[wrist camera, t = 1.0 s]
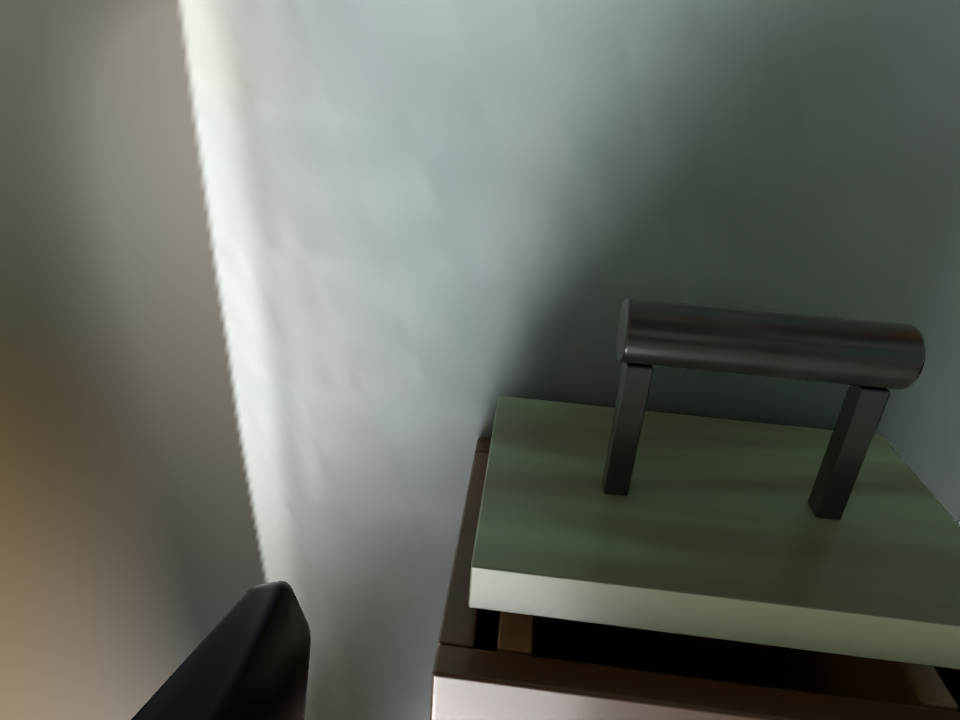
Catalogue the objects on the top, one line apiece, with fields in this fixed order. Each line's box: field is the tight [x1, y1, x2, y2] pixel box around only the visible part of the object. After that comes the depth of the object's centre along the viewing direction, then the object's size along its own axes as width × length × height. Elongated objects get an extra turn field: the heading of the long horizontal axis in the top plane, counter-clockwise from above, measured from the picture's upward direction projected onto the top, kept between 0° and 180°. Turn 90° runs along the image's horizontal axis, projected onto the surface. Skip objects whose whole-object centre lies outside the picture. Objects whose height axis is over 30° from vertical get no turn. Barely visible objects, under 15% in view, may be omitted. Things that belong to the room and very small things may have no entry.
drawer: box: [468, 298, 960, 711], centre depth 18 cm, size 18×11×7 cm, turn 176°
